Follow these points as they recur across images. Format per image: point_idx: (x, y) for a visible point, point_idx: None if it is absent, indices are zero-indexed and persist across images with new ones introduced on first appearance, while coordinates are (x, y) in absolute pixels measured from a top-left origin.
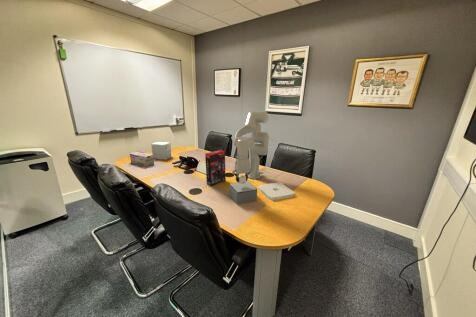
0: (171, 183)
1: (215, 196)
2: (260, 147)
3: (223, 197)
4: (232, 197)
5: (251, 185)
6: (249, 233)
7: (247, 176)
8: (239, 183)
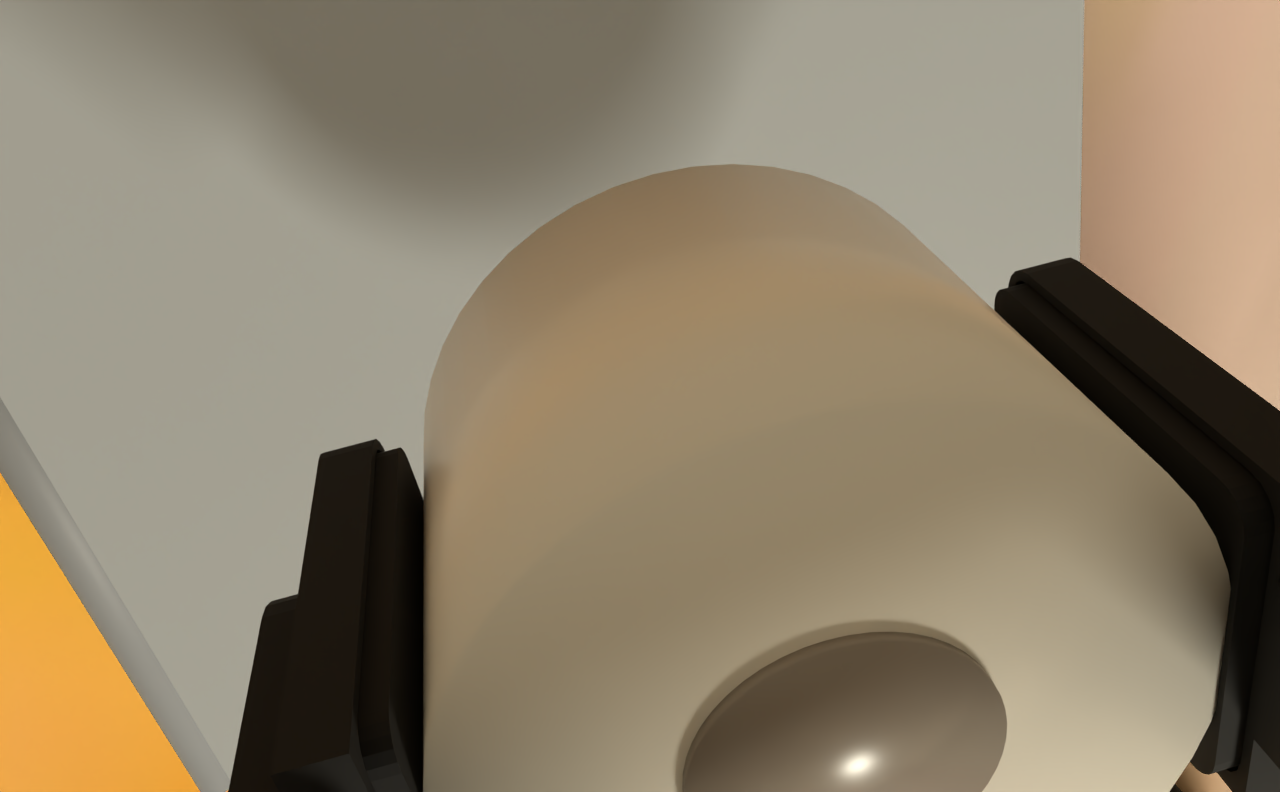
0: None
1: (1271, 301)
2: None
3: (1095, 221)
4: None
5: (69, 417)
6: None
7: (278, 738)
8: None
